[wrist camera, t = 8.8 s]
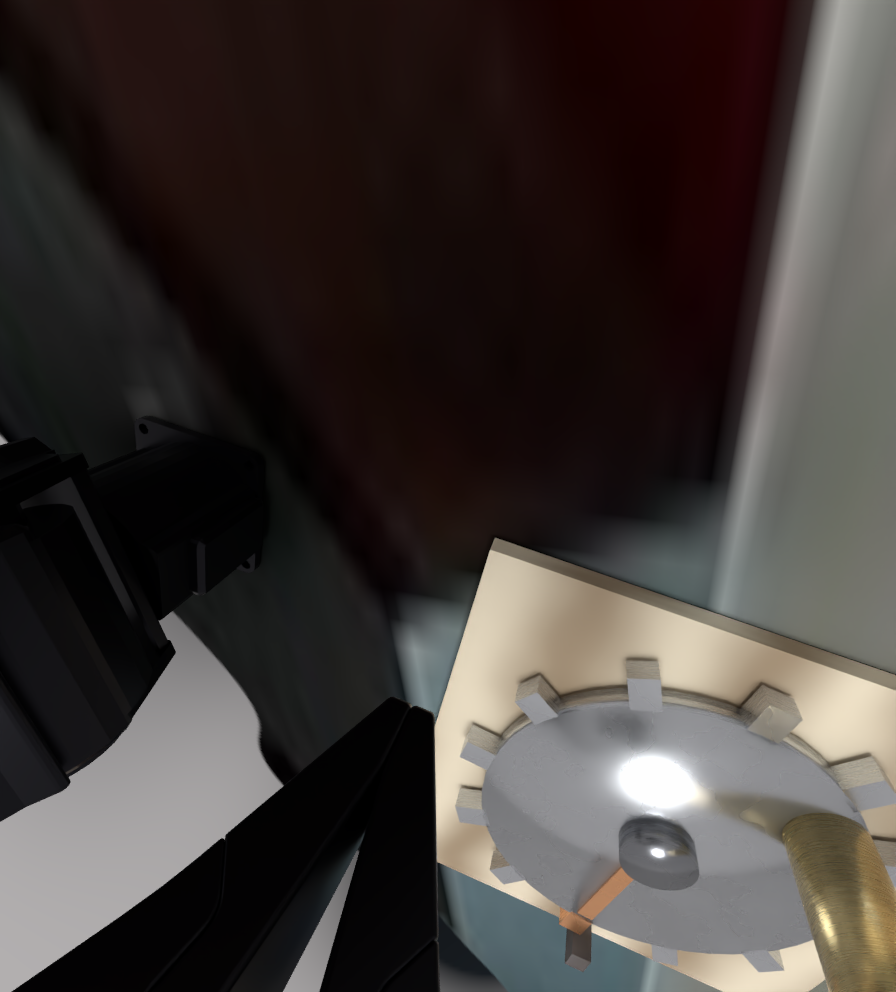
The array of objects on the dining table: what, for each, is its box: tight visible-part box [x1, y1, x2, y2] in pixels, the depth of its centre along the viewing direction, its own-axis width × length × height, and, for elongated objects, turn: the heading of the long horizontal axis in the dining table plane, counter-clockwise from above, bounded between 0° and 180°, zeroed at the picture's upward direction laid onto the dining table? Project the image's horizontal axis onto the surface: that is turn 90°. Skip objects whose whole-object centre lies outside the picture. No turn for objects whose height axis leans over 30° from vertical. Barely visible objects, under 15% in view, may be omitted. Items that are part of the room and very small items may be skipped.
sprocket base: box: [435, 538, 896, 992], centre depth 23 cm, size 22×22×3 cm
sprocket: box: [455, 660, 896, 992], centre depth 18 cm, size 18×18×12 cm
